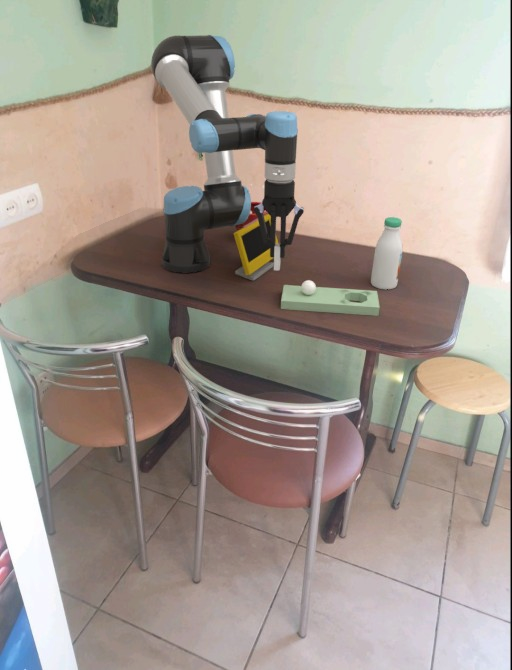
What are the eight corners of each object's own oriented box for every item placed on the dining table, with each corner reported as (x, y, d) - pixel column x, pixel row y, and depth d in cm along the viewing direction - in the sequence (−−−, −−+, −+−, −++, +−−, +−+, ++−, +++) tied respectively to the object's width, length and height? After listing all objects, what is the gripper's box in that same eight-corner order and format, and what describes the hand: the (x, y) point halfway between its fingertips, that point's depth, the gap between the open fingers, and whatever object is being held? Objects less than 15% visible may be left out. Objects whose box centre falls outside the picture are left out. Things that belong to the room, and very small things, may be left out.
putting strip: (280, 308, 146) (281, 300, 145) (283, 292, 155) (283, 284, 153) (378, 315, 144) (379, 307, 142) (375, 299, 152) (376, 290, 151)
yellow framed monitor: (249, 285, 158) (250, 234, 150) (226, 279, 162) (226, 229, 154) (280, 262, 173) (282, 214, 165) (259, 257, 177) (260, 210, 169)
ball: (300, 297, 147) (301, 283, 145) (301, 290, 150) (301, 277, 148) (315, 298, 147) (316, 284, 144) (315, 291, 150) (316, 278, 148)
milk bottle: (391, 292, 156) (402, 225, 146) (366, 286, 159) (375, 220, 149) (400, 283, 162) (411, 218, 151) (376, 277, 165) (385, 213, 155)
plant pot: (236, 232, 196) (236, 200, 190) (272, 235, 195) (274, 202, 189) (230, 245, 185) (230, 211, 179) (268, 248, 184) (269, 214, 178)
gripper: (251, 182, 131) (251, 272, 143) (305, 184, 130) (300, 275, 141) (255, 175, 137) (254, 261, 149) (306, 176, 136) (301, 264, 148)
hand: (277, 268), depth 145 cm, fingers closed
